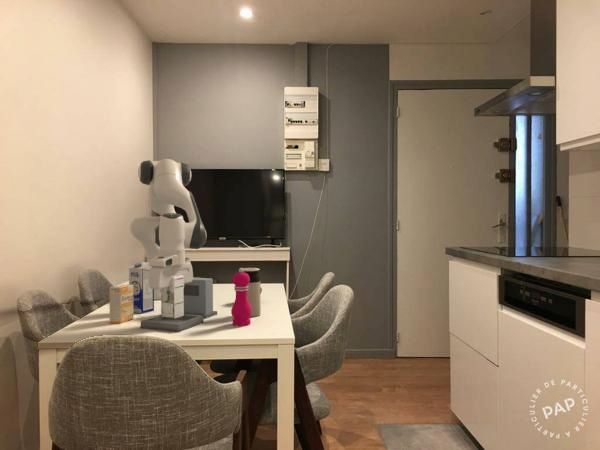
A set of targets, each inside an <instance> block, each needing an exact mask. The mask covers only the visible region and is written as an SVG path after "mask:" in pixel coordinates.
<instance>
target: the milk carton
mask: <svg viewBox="0 0 600 450" xmlns="http://www.w3.org/2000/svg"><path fill="white" fill-rule="evenodd" d="M151 267H152V266H149V262H147V261H140V262H136V263H134V264H133V265H132V266H129V267H128V284H129V285H133V314H141V315H143V314H146V313H150V312H154V311H155V300H154V289H151V288H150V287H149V269H150V268H151Z"/></svg>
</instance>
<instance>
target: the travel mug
mask: <svg viewBox="0 0 600 450" xmlns="http://www.w3.org/2000/svg"><path fill="white" fill-rule="evenodd" d="M242 268H243V267H242ZM243 269H244V271H243V272H244V273H247V274H248V275H249V277H250V282H249V283H248V285H247V286H248V290H247V299H248V301H249V304H250V306H251V309H252V313H251V315H250V316H249V318H254V317H258V316H261V315H262V314H261V312H262V311H261V309H262V308H261V294H260V287H261V276H260V274H259V273H260V268H258V267H244V268H243Z"/></svg>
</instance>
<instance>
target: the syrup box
mask: <svg viewBox="0 0 600 450" xmlns="http://www.w3.org/2000/svg"><path fill="white" fill-rule="evenodd" d="M171 282H172V285H171V287H167V291H166V292H167V294H168V295H169V300H167V301H163V300H162V294H161V299H160V300H161V301H160V302H161V305H160V308H161V311H160V313H161V314H160V315H161V317H163V318H174V319H175V318H179V317H182V316H184V298H183V288H184V280H183V276H174V277H172V278H171Z"/></svg>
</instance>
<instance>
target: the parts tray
mask: <svg viewBox="0 0 600 450" xmlns="http://www.w3.org/2000/svg"><path fill="white" fill-rule="evenodd" d="M203 323H204V318H203V316H200V315H188V314H184V316H182V317H179V318H175V319H174V318H163V317H161V314H158V315H155V316H152V317H148V318H145V319H142V320H140V329H148V330H155V331H156V330H157V331H167V332H175V333H180V332H182V331H185V330H189V329H190V328H192V327H193V328H194V327H196V326H198V325H202V324H203Z"/></svg>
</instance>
